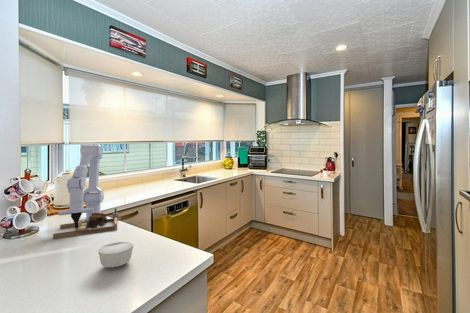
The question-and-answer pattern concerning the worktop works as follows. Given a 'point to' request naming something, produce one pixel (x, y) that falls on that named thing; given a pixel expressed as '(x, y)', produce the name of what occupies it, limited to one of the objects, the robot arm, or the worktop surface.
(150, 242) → the worktop surface
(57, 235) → the wooden frame
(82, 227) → the beige wooden block
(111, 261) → the ramekin
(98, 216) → the pottery mug
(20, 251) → the worktop surface
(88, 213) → the robot arm
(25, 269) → the worktop surface
